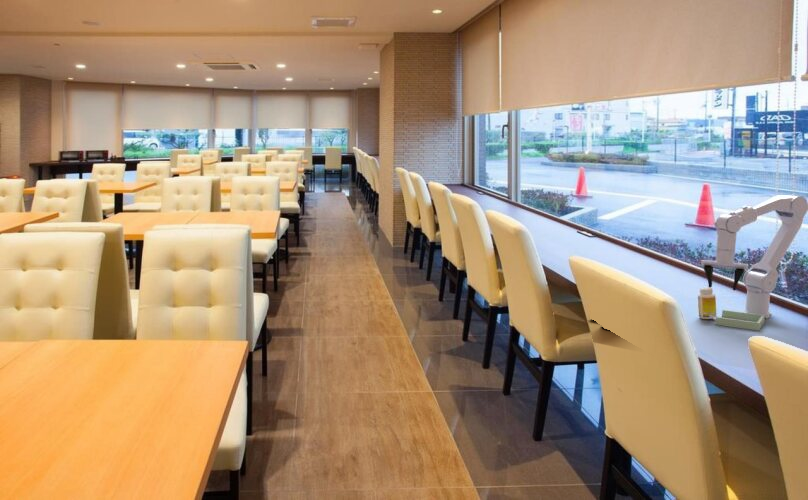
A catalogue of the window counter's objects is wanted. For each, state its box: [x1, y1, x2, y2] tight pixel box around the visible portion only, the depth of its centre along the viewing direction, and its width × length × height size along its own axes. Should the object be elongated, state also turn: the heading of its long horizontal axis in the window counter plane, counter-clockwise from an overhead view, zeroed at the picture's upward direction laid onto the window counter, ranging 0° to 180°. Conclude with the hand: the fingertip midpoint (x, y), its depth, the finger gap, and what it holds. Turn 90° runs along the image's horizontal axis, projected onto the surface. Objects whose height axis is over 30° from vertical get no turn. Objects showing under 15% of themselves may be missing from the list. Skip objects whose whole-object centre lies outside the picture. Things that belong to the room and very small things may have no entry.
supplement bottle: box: [697, 287, 717, 320], centre depth 226 cm, size 6×6×10 cm
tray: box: [714, 309, 766, 332], centre depth 220 cm, size 13×13×2 cm
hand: (722, 288), depth 227 cm, fingers open, 7 cm apart
